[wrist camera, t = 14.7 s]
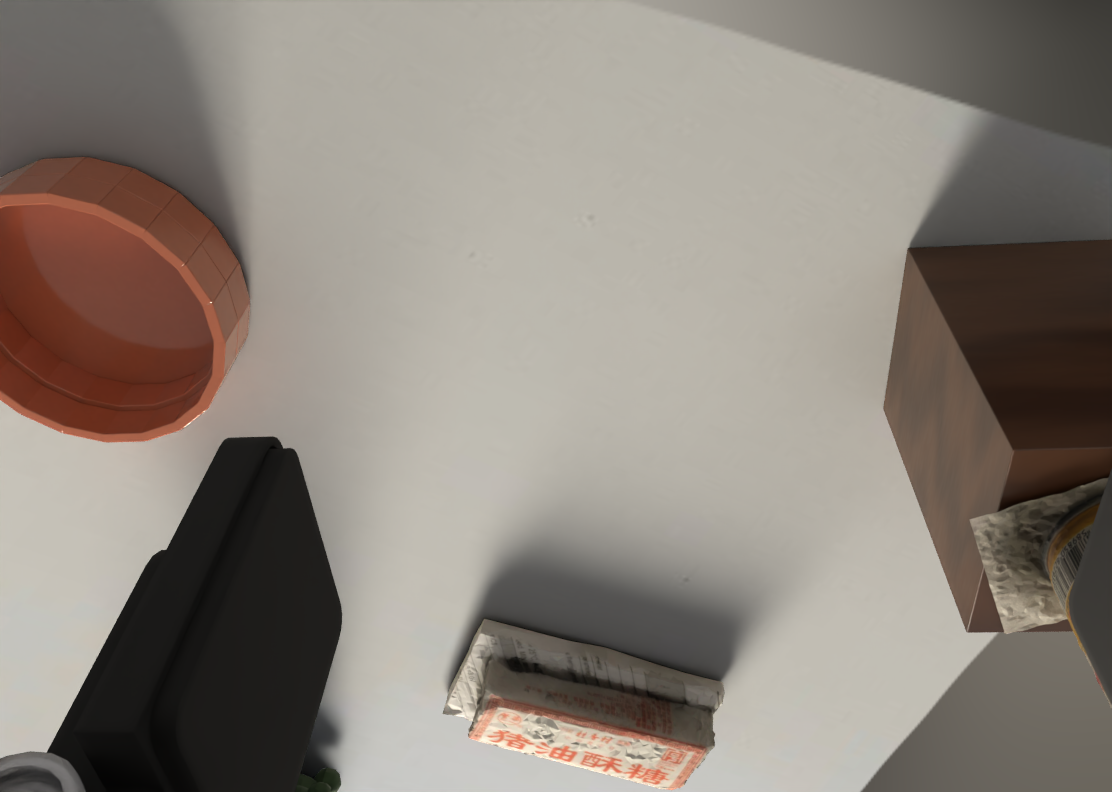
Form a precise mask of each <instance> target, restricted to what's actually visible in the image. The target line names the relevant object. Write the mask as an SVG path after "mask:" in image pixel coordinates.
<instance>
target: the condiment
mask: <svg viewBox="0 0 1112 792" xmlns="http://www.w3.org/2000/svg"><path fill="white" fill-rule="evenodd" d="M1107 481H1108V478H1103V479H1100V480H1097V481H1095V482H1092V483H1089V484H1087V485H1082V486H1078V487H1076V488H1074V489H1072V490H1070V491H1067V492H1064V493H1061V494H1055V495H1049V496H1046V497H1043V498H1040V499H1036V500H1031V501H1027V502H1023V503H1020V504H1017V505H1014V506H1011V507H1009V508H1007V509H1004V510H1002V511H999V512H997V513H992V514H987V515H984V516H980V517H977V518H973V519H970V523H971V526H972V530H973V532H974V536H975V540H976V543H977V546H978V549H979V552H980V555H981V559H982V562H983V565H984V569H985V572H986V575H987V578H988V581H989V585H990V588H991V591H992V594H993V597H994V599H995V603H996V607H997V610H998V613H999V616H1000V619H1001V623H1002V626H1003V629H1004V632H1005V634H1008V633H1012V632H1016V631H1024V630H1028V629H1031V628H1034V627H1037V626H1040V625H1044V624H1054V623H1057V622H1060V621H1062V620H1065V619H1068V621H1069V622H1070V625H1071V628H1072V630H1073V632H1074V634H1075V635H1076V637H1077V639H1078V643H1079V646H1080V647H1081V649H1082V651H1084V653H1085V655H1086V658H1087V660H1088V661H1089V664H1090V666H1091V667H1092V669H1093V671H1094V673H1095V675H1096V679H1097V681H1098V683H1099V684H1100V686H1101V688H1102V690H1103V691H1104V694H1105V696H1106V698H1107V700H1108V702H1109V705H1110V707H1111V708H1112V705H1111V703H1110V701H1109V699H1108V697H1107V694H1106V692H1105V690H1104V688H1103V686H1102V684H1101V682H1100V680H1099V678H1098V676H1097V674H1096V672H1095V670H1094V668H1093V666H1092V664H1091V662H1090V660H1089V658H1088V656H1087V653H1086V651H1085V649H1084V647H1083V645H1082V643H1081V641H1080V639H1079V637H1078V635H1077V633H1076V631H1075V629H1074V626H1073V624H1072V621H1071V617H1070V612H1069V596H1070V592H1071V589H1072V586H1073V583H1074V580H1075V577H1076V574H1077V571H1078V568H1079V565H1080V562H1081V559H1082V556H1083V553H1084V550H1085V547H1086V544H1087V541H1088V538H1089V535H1090V532H1091V529H1092V526H1093V523H1094V520H1095V517H1096V514H1097V511H1098V508H1099V505H1100V502H1101V499H1102V496H1103V493H1104V490H1105V487H1106V484H1107Z"/></svg>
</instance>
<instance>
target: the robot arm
mask: <svg viewBox="0 0 1112 792" xmlns="http://www.w3.org/2000/svg"><path fill="white" fill-rule="evenodd" d="M1069 612H1070V617H1071V621H1072V624H1073V626H1074V629H1075V631H1076V633H1077V635H1078V637H1079V639H1080V641H1081V643H1082V645H1083V647H1084V649H1085V651H1086V653H1087V656H1088V658H1089V660H1090V662H1091V664H1092V666H1093V668H1094V670H1095V672H1096V674H1097V676H1098V678H1099V680H1100V682H1101V684H1102V686H1103V688H1104V690H1105V692H1106V694H1107V697H1108V699H1109V701H1110V703H1111V705H1112V469H1111V472H1110V475H1109V478H1108V481H1107V484H1106V487H1105V490H1104V493H1103V496H1102V499H1101V502H1100V505H1099V508H1098V511H1097V514H1096V517H1095V520H1094V523H1093V526H1092V529H1091V532H1090V535H1089V538H1088V541H1087V544H1086V547H1085V550H1084V553H1083V556H1082V559H1081V562H1080V565H1079V568H1078V571H1077V574H1076V577H1075V580H1074V583H1073V586H1072V589H1071V592H1070V596H1069ZM341 625H342V610H341V604H340V600H339V596H338V593H337V589H336V586H335V582H334V579H333V576H332V572H331V569H330V565H329V562H328V558H327V555H326V551H325V548H324V544H323V541H322V538H321V534H320V531H319V527H318V524H317V520H316V517H315V513H314V510H313V506H312V503H311V500H310V496H309V493H308V489H307V486H306V482H305V479H304V475H303V472H302V468H301V465H300V462H299V458H298V456H297V453H296V452H295V450H294V449H291V448H284V449H283V447H282V445H281V442H280V441H279V440H278V439H277V438H276V437H239V438H227V439H225V440H224V441H223V442H222V444H221V445H220V447H219V449H218V451H217V453H216V455H215V457H214V459H213V461H212V462H211V464H210V466H209V468H208V470H207V472H206V474H205V476H204V478H203V480H202V482H201V484H200V486H199V488H198V490H197V492H196V493H195V495H194V497H193V499H192V501H191V503H190V505H189V507H188V509H187V511H186V513H185V515H184V517H183V519H182V521H181V523H180V524H179V526H178V528H177V530H176V532H175V534H174V536H173V538H172V540H171V542H170V544H169V546H168V548H167V550H161V551H159V552H158V553H156V554H155V555H153V556H152V558H151V559H150V561H149V562H148V564H147V565H146V566H145V568H144V570H143V572H142V574H141V576H140V578H139V580H138V581H137V583H136V585H135V587H134V589H133V591H132V593H131V595H130V597H129V598H128V600H127V602H126V604H125V606H124V608H123V610H122V612H121V614H120V615H119V617H118V619H117V621H116V623H115V625H114V627H113V629H112V631H111V632H110V634H109V636H108V638H107V640H106V642H105V644H104V646H103V648H102V649H101V651H100V653H99V655H98V657H97V659H96V661H95V663H94V664H93V666H92V668H91V670H90V672H89V674H88V676H87V678H86V680H85V681H84V683H83V685H82V687H81V689H80V691H79V693H78V695H77V697H76V698H75V700H74V702H73V704H72V706H71V708H70V710H69V712H68V714H67V715H66V717H65V719H64V721H63V723H62V725H61V727H60V729H59V731H58V732H57V734H56V736H55V738H54V740H53V742H52V744H51V746H50V747H49V749H48V751H47V753H43V752H31V751H30V752H25V753H20V754H15V755H10V756H6V757H3V758H1V759H0V792H295V790H296V786H297V783H298V779H299V776H300V772H301V769H302V765H303V762H304V758H305V755H306V751H307V748H308V744H309V741H310V738H311V734H312V731H313V727H314V724H315V720H316V717H317V713H318V710H319V706H320V703H321V699H322V696H323V692H324V689H325V685H326V682H327V678H328V675H329V671H330V668H331V664H332V661H333V658H334V654H335V651H336V647H337V644H338V640H339V637H340V632H341Z"/></svg>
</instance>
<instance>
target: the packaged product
mask: <svg viewBox="0 0 1112 792" xmlns="http://www.w3.org/2000/svg"><path fill="white" fill-rule="evenodd" d="M724 694H725V693H724V687H723V682H719V681H715V680H711V679H707V678H703V677H699V676H695V675H691V674H687V673H684V672H680V671H677V670H674V669H670V668H667V667H664V666H661V665H657V664H654V663H651V662H648V661H644V660H641V659H638V658H635V657H632V656H629V655H626V654H623V653H620V652H617V651H615V650H612V649H609V648H605V647H600V646H594V645H589V644H583V643H578V642H572V641H568V640H564V639H560V638H556V637H553V636H549V635H545V634H541V633H537V632H533V631H530V630H526V629H522V628H518V627H514V626H510V625H507V624H503V623H499V622H495V621H491V620H487V619H484V620H483V622H482V624H481V625H480V627H479V629H478V631H477V633H476V635H475V636H474V638H473V641H472V643H471V646H470V648H469V651H468V653H467V655H466V657H465V659H464V661H463V663H462V665H461V667H460V669H459V671H458V673H457V675H456V677H455V679H454V681H453V683H452V685H451V687H450V690H449V693H448V697H447V700H446V704H445V708H444V711H443V714H447V715H456V716H460V717H464V718H466V719H467V720H469V721H473V722H472V725H471V727H470V728H469V734H468V737H469V738H471V739H474V740H477V741H479V742H483V743H487V744H490V745H495V746H498V747H502V748H505V749H509V750H514V751H518V752H523V753H525V754H531V755H534V756H537V757H541V758H545V759H549V760H554V761H557V762H561V763H565V764H568V765H571V766H576V767H581V768H585V769H588V770H591V771H595V772H599V773H602V774H607V775H610V776H614V777H619V778H623V779H627V780H631V781H633V782H636V783H643V784H645V785H650V786H653V787H655V788H660V789H669V790H673V789H676V788H681V787H682V786H684V785H685V783H686V781H687V779H688V778H689V777H690V775H691V774H692V773H693V771H694V770H695V769H696V768H698V767H699V765H700V764H701V763H702V762H703V761H704V760H705V757H706V755H707V754H708V753H709V752H710V751H711V750H712V749H713V748H714V747H715V741H714V736H715V733H714V732H713V714H714V713H715V711H716V710H717V709H718V707H719V706H720V705H722V702H723V698H724Z"/></svg>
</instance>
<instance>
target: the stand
mask: <svg viewBox="0 0 1112 792" xmlns="http://www.w3.org/2000/svg"><path fill="white" fill-rule="evenodd" d="M883 409H884V412H885V414H886V417H887V420H888V422H889V425H890V428H891V430H892V433H893V436H894V438H895V441H896V444H897V447H898V449H899V452H900V455H901V457H902V460H903V463H904V465H905V468H906V471H907V473H908V476H909V479H910V481H911V484H912V487H913V489H914V492H915V495H916V497H917V500H918V503H919V506H920V508H921V511H922V514H923V516H924V519H925V522H926V524H927V527H928V530H929V532H930V535H931V538H932V540H933V543H934V546H935V548H936V551H937V554H938V556H939V559H940V562H941V565H942V567H943V570H944V573H945V575H946V578H947V581H948V583H949V586H950V589H951V591H952V594H953V597H954V599H955V602H956V605H957V607H958V610H959V613H960V615H961V618H962V621H963V624H964V626H965V629H966V632H1004V629H1003V626H1002V623H1001V619H1000V616H999V613H998V610H997V607H996V603H995V599H994V597H993V594H992V591H991V588H990V585H989V581H988V578H987V575H986V572H985V569H984V565H983V562H982V559H981V555H980V552H979V549H978V546H977V543H976V540H975V536H974V532H973V530H972V526H971V523H970V519H973V518H977V517H980V516H984V515H987V514H992V513H997V512H999V511H1002V510H1004V509H1007V508H1009V507H1011V506H1014V505H1017V504H1020V503H1023V502H1027V501H1031V500H1036V499H1040V498H1043V497H1046V496H1049V495H1055V494H1061V493H1064V492H1067V491H1070V490H1072V489H1074V488H1076V487H1078V486H1082V485H1087V484H1089V483H1092V482H1095V481H1097V480H1100V479H1103V478H1109V475H1110V472H1111V469H1112V240H1094V241H1070V242H1045V243H1021V244H997V245H973V246H948V247H924V248H908V250H907V257H906V263H905V270H904V277H903V283H902V290H901V296H900V303H899V310H898V316H897V323H896V329H895V336H894V342H893V349H892V356H891V362H890V369H889V375H888V382H887V388H886V395H885V402H884V408H883ZM1051 631H1052V632H1053V631H1054V632H1055V631H1056V632H1059V631H1073V630H1072V628H1071V625H1070V622H1069V621H1068V619H1065V620H1062V621H1060V622H1057V623H1054V624H1044V625H1040V626H1037V627H1034V628H1031V629H1028V630H1024V631H1016V632H1051Z"/></svg>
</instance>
